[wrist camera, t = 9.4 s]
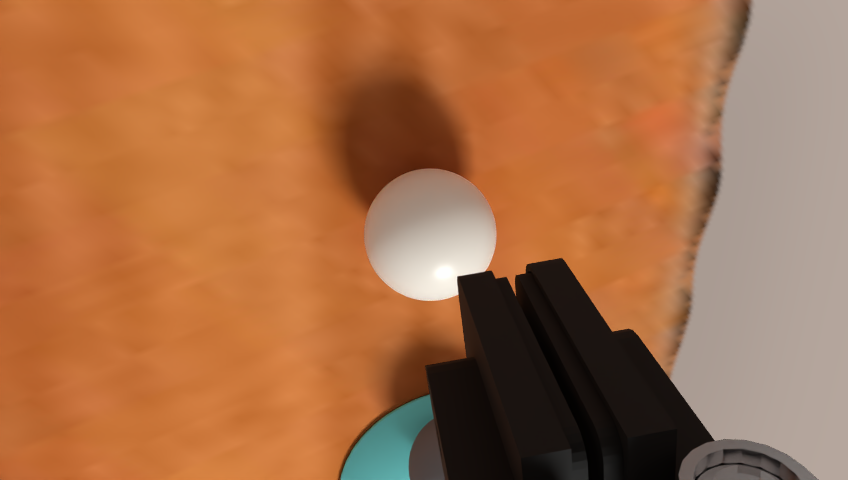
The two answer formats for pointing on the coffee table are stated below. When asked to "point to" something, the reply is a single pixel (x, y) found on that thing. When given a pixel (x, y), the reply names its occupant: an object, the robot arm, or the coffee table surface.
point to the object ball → (426, 455)
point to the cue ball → (429, 233)
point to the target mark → (388, 444)
